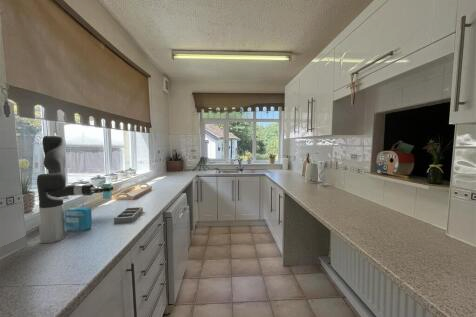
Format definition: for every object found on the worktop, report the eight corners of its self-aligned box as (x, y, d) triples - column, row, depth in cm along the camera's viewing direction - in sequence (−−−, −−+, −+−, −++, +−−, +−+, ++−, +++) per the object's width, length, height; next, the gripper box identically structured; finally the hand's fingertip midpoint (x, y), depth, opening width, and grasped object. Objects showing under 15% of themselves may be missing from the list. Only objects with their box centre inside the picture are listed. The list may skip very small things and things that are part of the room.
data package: (65, 230, 123) (64, 209, 122) (71, 227, 128) (70, 207, 127) (86, 230, 123) (85, 209, 122) (92, 227, 127) (91, 207, 127)
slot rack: (132, 222, 136) (132, 216, 135) (113, 223, 134) (113, 217, 134) (142, 211, 157) (142, 206, 157) (127, 212, 156) (126, 207, 156)
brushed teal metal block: (109, 198, 148) (108, 183, 148) (103, 198, 148) (102, 183, 147) (111, 197, 152) (111, 182, 151) (105, 197, 151) (104, 182, 151)
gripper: (77, 186, 140) (106, 185, 143) (89, 182, 154) (115, 181, 157) (78, 197, 141) (107, 196, 143) (89, 193, 155) (116, 192, 157)
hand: (111, 189), depth 150 cm, fingers closed on brushed teal metal block, 3 cm apart
